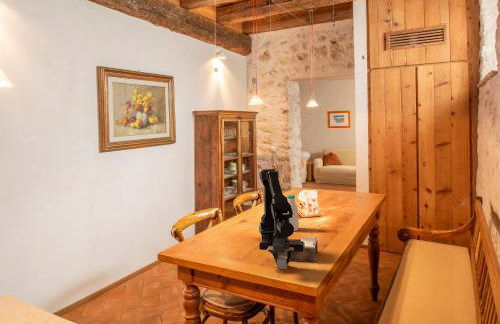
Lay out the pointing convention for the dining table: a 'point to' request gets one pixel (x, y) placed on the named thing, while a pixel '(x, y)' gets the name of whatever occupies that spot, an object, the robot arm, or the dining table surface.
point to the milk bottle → (295, 212)
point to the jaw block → (282, 262)
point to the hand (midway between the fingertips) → (282, 264)
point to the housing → (302, 253)
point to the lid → (309, 242)
